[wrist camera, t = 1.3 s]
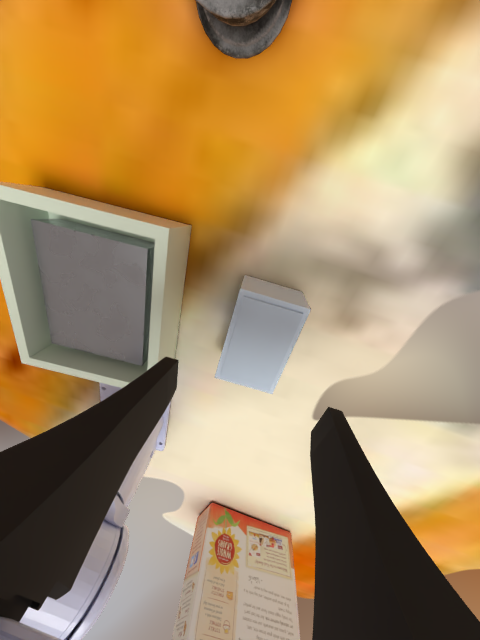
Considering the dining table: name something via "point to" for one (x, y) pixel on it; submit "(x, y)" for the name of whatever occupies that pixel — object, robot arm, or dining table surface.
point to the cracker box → (238, 581)
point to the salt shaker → (243, 24)
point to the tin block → (96, 288)
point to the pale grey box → (261, 334)
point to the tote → (26, 288)
